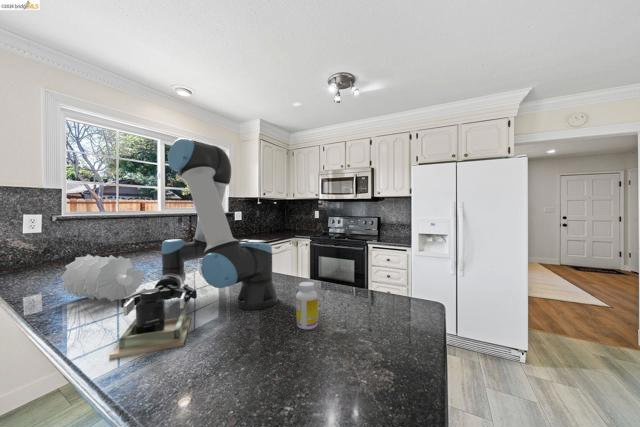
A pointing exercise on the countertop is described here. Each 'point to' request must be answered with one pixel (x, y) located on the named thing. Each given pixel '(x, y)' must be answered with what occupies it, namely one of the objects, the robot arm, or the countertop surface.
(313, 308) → the supplement bottle
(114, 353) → the beige tray
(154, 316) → the supplement bottle
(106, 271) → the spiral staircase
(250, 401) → the countertop surface
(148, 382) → the countertop surface
